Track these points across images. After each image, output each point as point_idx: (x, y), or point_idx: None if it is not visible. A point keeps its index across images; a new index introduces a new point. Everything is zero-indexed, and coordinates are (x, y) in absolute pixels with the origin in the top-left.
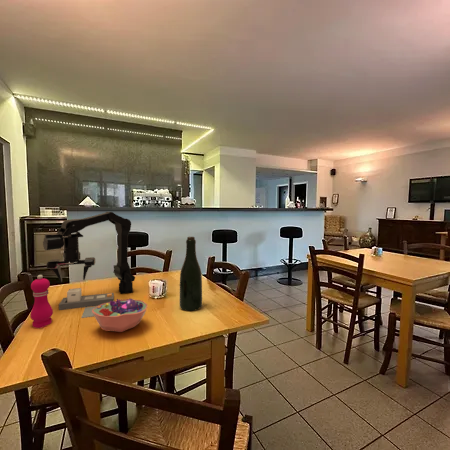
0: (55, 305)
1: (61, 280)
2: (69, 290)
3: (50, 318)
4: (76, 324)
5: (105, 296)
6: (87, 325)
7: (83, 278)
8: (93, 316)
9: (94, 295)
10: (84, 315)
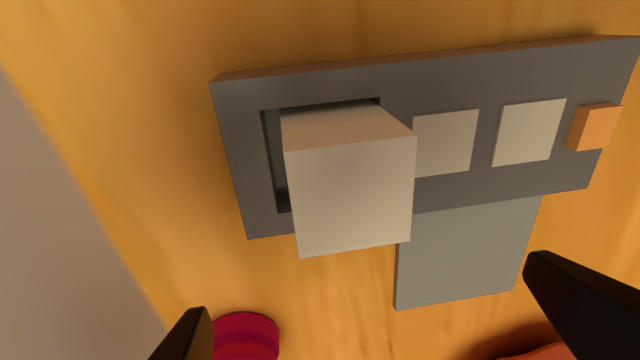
0: (166, 100)
1: (208, 355)
2: (304, 208)
3: (272, 348)
4: (380, 339)
5: (557, 130)
6: (419, 346)
7: (546, 313)
8: (443, 300)
9: (483, 82)
10: (406, 294)
